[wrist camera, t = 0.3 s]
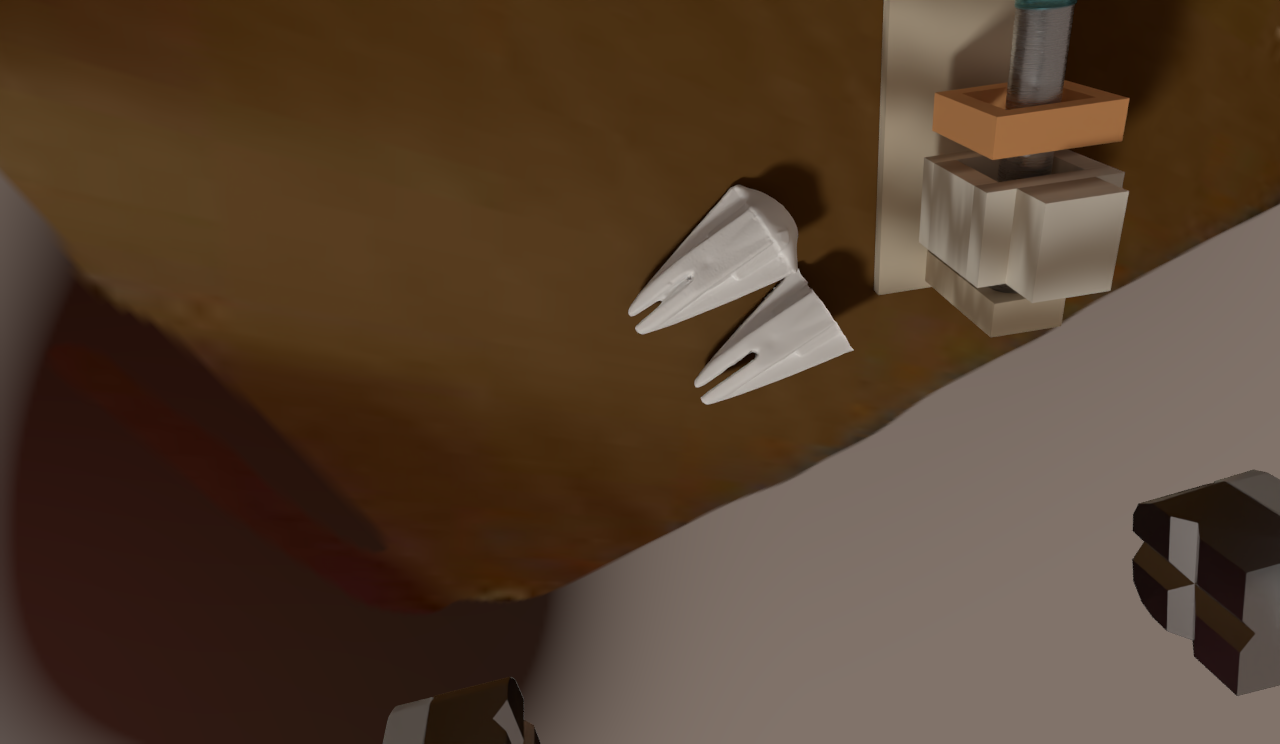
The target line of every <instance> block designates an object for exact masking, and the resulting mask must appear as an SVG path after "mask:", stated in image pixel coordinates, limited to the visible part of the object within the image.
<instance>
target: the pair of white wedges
mask: <svg viewBox="0 0 1280 744" xmlns="http://www.w3.org/2000/svg"><path fill="white" fill-rule="evenodd" d="M797 239H798V229H797V226H796V224H795V221H794V219H793V218H792V216H791V215H790V213H789V212H788V211H787V210H786V209H785V207H784V206H783V205H782V204H780V203H779V202H778V201H777V200H775V199H774V198H772V197H770V196H768V195H766V194H765V193H763V192H760V191H757V190H754V189H750V188H747V187H744V186H742V185H735V186H733V187H730V188H729V190H728V191H727V193H726V194H725V195H724V196H723V197H722V199H721V200H720V201H719V202H718V203H717V204H716V206H715V207H714V208H713V209H712V210H711V211H710V212H709V213H708V214H707V215H706V217H705V218H704V219H703V220H702V221H701V222H700V223H699V224H698V226H697V227H696V228H695V229H694V230H693V231H692V232H691V234H690V235H689V236H688V237H687V238H686V239H685V240H684V241H683V243H682V244H681V245H680V246H679V247H678V249H677V250H676V251H675V252H674V253H673V254H672V256H671V257H670V258H669V259H668V260H667V261H666V263H665V264H664V265H663V266H662V267H661V268H660V270H659V271H658V272H657V273H656V274H655V275H654V277H653V278H652V279H651V280H650V281H649V282H648V284H647V285H646V286H645V287H644V288H643V289H642V291H641V292H640V293H639V294H638V296H637V297H636V299H635V300H634V301H633V303H632V304H631V306H630V308H629V311H628V313H629V315H630V316H635V315H637V314H638V313H640V312H641V311H643V310H644V309H646V308H648V307H649V306H651V305H652V304H654V303H655V302H657V301H662V303H661V304H660V305H659V307H657V308H656V309H655V310H654V311H653V312H652V313H650V314H649V315H648V316H647V317H646V318H644V319H643V320H642V321H641V322H640V323H639V324H637V325H636V327H635V329H636V331H637V332H638V333H640V334H646V333H649V332H652V331H656V330H658V329H661V328H664V327H667V326H670V325H673V324H676V323H678V322H681V321H683V320H686V319H689V318H691V317H694V316H696V315H698V314H701V313H704V312H706V311H709V310H711V309H713V308H716V307H718V306H721V305H723V304H726V303H728V302H730V301H733V300H735V299H738V298H740V297H742V296H744V295H747V294H749V293H751V292H754V291H756V290H758V289H760V288H763V287H765V286H768V285H770V284H772V283H774V282H776V281H779V280H781V279H783V278H784V279H783V281H781V283H780V284H778V285H777V286H776V287H774V288H773V289H774V290H773V291H772V292H771V293H768V294H769V295H767V297H765V298H764V299H765V300H764V301H763V302H762V303H761V304H760V305H759V306H758V307H757V308H756V310H755V311H754V312H753V313H752V314H751V315H750V316H749V317H748V318H747V319H746V320H745V321H744V322H743V324H742V325H740V326H739V327H738V329H737V330H736V331H735V332H734V334H733V335H732V336H731V337H730V338H729V339H728V341H727V342H726V343H725V344H724V345H723V346H722V347H721V349H720V350H719V351H718V352H717V353H716V354H715V355H714V356H713V358H712V359H711V360H710V361H709V362H708V363H707V365H706V366H705V367H704V369H703V370H702V371H701V372H700V374H699V375H698V376H697V378H696V379H695V382H694V384H695V386H696V387H701V386H703V385H705V384H706V383H708V382H709V381H711V380H712V379H714V378H715V377H717V376H718V375H720V374H722V372H724V371H725V370H726V369H727V368H728V367H730V366H732V365H735V364H736V363H737V362H738V361H740V360H741V359H742V358H744V357H745V356H746V355H747V354H748V353H749V352H750V353H751V352H754V353H756V354H757V355H755V359H754V360H751V362H749V363H748V364H747V365H746V366H743V367H742V368H741V369H740V370H738V371H737V372H735V373H734V374H732V375H731V376H730V377H728V378H726V379H725V380H724V381H722V382H721V383H719V384H718V385H717V386H715V387H714V388H712V389H711V390H710V391H708V392H707V393H706V394H704V395H703V396H702V397H701V400H702V402H703V403H705V404H712V403H715V402H719V401H722V400H725V399H728V398H731V397H734V396H737V395H740V394H743V393H746V392H749V391H751V390H754V389H757V388H760V387H762V386H765V385H768V384H770V383H773V382H776V381H778V380H781V379H783V378H786V377H788V376H791V375H793V374H796V373H798V372H801V371H803V370H806V369H808V368H811V367H813V366H816V365H818V364H820V363H823V362H825V361H828V360H830V359H833V358H835V357H838V356H840V355H842V354H844V353H846V352H849V351H853V350H854V349H852V347H851V346H850V345H849V342H848V341H847V339H846V337H845V335H843V333H842V332H841V330H840V327H839V326H838V325H837V322H835V321H834V319H833V318H832V316H831V314H830V312H829V311H828V309H827V308H826V307H825V305H824V304H823V302H822V301H821V300H820V299H819V297H818V296H817V295H816V294H815V293H814V291H813V290H812V289H810V287H809V286H807V284H808V282H807V281H806V280H805V278H803V277H802V275H801V274H800V271H799V269H798V263H797ZM750 353H749V354H750Z"/></svg>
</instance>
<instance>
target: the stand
mask: <svg viewBox="0 0 1280 744" xmlns="http://www.w3.org/2000/svg"><path fill="white" fill-rule="evenodd" d="M1014 5H1015V0H884V10H883V39H882V68H881V97H880V126H879V155H878V184H877V213H876V242H875V271H874V291H875V292H876V293H877V294H878V295H882V294H888V293H895V292H901V291H907V290H914V289H920V288H927V287H933V288H934V289H935V290H937V291H938V292H939V293H940V294H941V295H942V296H943V297H945V298H946V299H947V300H948V301H949V302H950V303H952V304H953V305H954V306H955V307H956V308H957V309H958V310H960V311H961V312H962V313H963V314H964V315H965V316H967V317H968V318H969V319H970V320H971V321H972V322H973V323H975V324H976V325H977V326H978V327H979V328H980V329H982V330H983V331H984V332H985V333H986V334H987V335H988V336H990V337H996V336H1002V335H1009V334H1015V333H1021V332H1027V331H1033V330H1040V329H1046V328H1052V327H1058V326H1061V323H1062V317H1063V310H1064V304H1065V298H1061V299H1055V300H1049V301H1042V302H1036V303H1031V302H1030V301H1029V300H1027V299H1026V298H1024V297H1023V296H1022V295H1020V294H1019V293H1003V292H999V291H995V290H993V289H991V288H989V287H988V286H987V287H981V288H977V287H975V286H974V285H973V284H972V283H970V282H969V281H968V280H966V279H965V278H964V277H963V276H961V275H960V274H959V273H958V272H956V271H955V270H954V269H952V268H951V267H950V266H949V265H947V264H946V263H945V262H943V261H942V260H941V259H940V258H938V257H937V256H936V255H935V254H933V253H932V252H931V251H929V250H928V249H927V248H926V247H924V246H923V245H922V244H921V243H919V232H920V216H921V200H922V184H923V168H924V157H930V156H937V155H944V154H951V153H958V152H965V151H971V149H969V148H967V147H965V146H963V145H961V144H959V143H957V142H955V141H953V140H951V139H948V138H946V137H944V136H942V135H940V134H938V133H936V132H934V131H932V126H933V111H934V96H935V93H936V92H943V91H950V90H957V89H964V88H971V87H978V86H985V85H992V84H999V83H1007V82H1008V76H1009V66H1010V57H1011V48H1012V38H1013V29H1014V20H1015V10H1016V7H1014Z"/></svg>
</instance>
